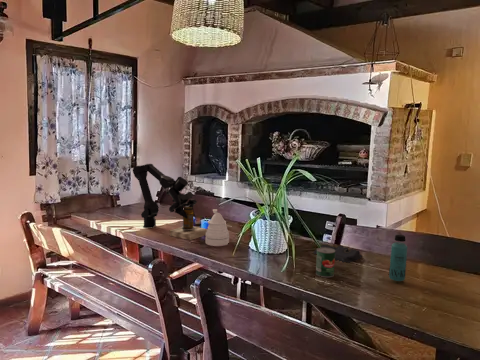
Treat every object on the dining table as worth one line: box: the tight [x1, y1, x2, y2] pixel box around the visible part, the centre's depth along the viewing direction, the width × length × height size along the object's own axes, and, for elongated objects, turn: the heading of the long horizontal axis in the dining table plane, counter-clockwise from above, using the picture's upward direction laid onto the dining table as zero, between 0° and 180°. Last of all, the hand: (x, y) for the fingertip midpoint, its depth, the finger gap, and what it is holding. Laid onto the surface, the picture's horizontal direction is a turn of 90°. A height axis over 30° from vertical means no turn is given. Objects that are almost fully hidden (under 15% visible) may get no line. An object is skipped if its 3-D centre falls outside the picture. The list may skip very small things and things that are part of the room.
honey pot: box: [205, 209, 230, 247], centre depth 227 cm, size 13×13×18 cm
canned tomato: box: [315, 246, 336, 278], centre depth 181 cm, size 8×8×11 cm
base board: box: [169, 226, 208, 241], centre depth 243 cm, size 16×16×3 cm
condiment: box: [181, 206, 195, 230], centre depth 241 cm, size 7×8×12 cm
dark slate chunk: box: [312, 244, 363, 264], centre depth 209 cm, size 15×22×5 cm
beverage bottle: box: [388, 234, 409, 282], centre depth 173 cm, size 6×7×20 cm
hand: (190, 217), depth 241 cm, fingers closed on condiment, 6 cm apart
